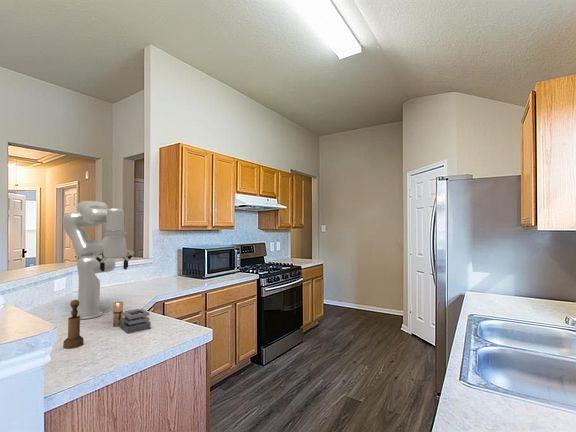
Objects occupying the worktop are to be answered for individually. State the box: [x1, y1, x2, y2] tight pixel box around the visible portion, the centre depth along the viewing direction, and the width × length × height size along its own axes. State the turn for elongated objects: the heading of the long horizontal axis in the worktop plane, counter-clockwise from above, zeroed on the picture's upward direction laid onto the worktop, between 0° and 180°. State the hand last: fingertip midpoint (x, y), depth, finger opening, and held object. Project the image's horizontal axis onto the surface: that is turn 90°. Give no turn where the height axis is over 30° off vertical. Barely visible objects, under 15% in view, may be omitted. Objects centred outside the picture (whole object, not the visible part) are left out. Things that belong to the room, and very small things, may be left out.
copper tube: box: [112, 300, 124, 328], centre depth 148 cm, size 4×4×11 cm
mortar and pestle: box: [62, 299, 84, 349], centre depth 123 cm, size 7×6×18 cm
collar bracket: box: [118, 308, 151, 335], centre depth 144 cm, size 11×10×7 cm
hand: (114, 270), depth 147 cm, fingers open, 9 cm apart
